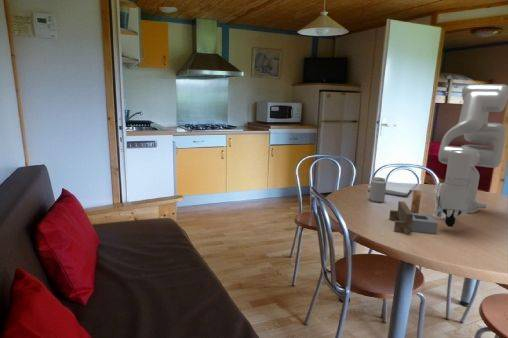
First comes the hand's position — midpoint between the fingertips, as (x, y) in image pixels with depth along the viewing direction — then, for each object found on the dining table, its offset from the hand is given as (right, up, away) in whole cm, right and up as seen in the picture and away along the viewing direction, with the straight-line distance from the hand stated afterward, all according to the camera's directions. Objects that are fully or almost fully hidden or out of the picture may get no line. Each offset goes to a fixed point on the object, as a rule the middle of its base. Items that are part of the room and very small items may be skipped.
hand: (449, 225), depth 138 cm
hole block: (-11, -1, +2) cm, 11 cm away
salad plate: (+1, +9, +61) cm, 62 cm away
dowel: (-6, +1, +17) cm, 18 cm away
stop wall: (-18, -1, +4) cm, 19 cm away
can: (-15, +6, +40) cm, 43 cm away
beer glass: (+6, +1, +18) cm, 19 cm away
